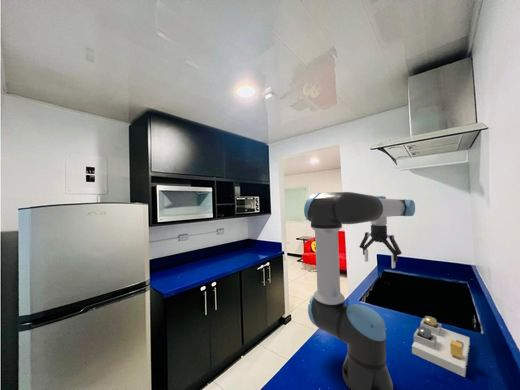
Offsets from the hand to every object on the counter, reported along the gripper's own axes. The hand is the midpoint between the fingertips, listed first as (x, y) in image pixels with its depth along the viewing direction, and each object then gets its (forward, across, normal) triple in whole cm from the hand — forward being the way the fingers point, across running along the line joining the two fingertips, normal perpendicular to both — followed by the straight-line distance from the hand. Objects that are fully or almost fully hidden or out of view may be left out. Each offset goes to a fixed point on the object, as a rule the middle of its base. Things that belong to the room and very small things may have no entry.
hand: (379, 264), depth 110 cm
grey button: (+22, -22, +12) cm, 34 cm away
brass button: (+22, -21, 0) cm, 31 cm away
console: (+27, -26, +6) cm, 38 cm away
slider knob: (+24, -32, +12) cm, 41 cm away
